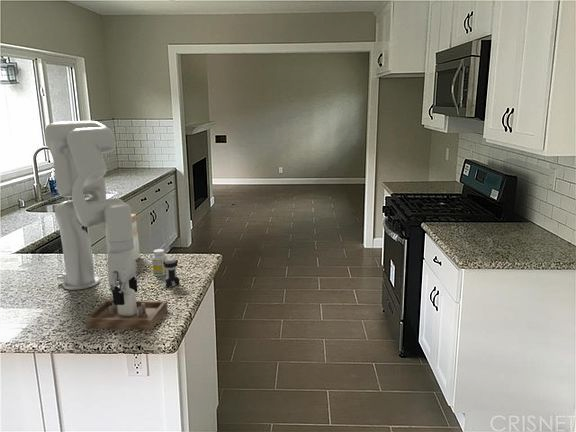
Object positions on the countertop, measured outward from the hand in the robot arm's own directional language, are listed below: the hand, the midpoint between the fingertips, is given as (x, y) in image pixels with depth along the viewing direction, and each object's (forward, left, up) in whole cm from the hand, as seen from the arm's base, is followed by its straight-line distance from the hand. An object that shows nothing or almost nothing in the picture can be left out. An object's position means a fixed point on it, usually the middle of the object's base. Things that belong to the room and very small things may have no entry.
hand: (126, 297), depth 147 cm
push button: (+4, +28, -7) cm, 29 cm away
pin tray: (0, 0, -7) cm, 7 cm away
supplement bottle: (-4, +40, -7) cm, 41 cm away
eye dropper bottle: (0, 0, -6) cm, 6 cm away
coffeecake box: (-24, +53, -7) cm, 58 cm away
